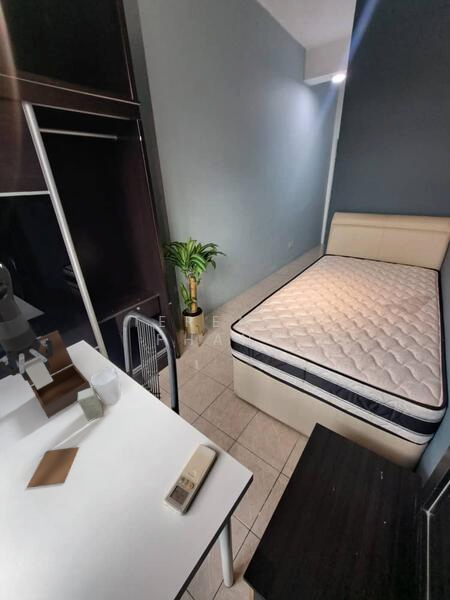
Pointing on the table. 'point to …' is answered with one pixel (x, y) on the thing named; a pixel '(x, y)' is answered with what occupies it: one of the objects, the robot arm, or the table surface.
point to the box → (90, 403)
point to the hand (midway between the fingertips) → (38, 374)
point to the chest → (61, 390)
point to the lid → (55, 354)
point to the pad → (53, 467)
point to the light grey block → (38, 372)
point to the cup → (107, 385)
